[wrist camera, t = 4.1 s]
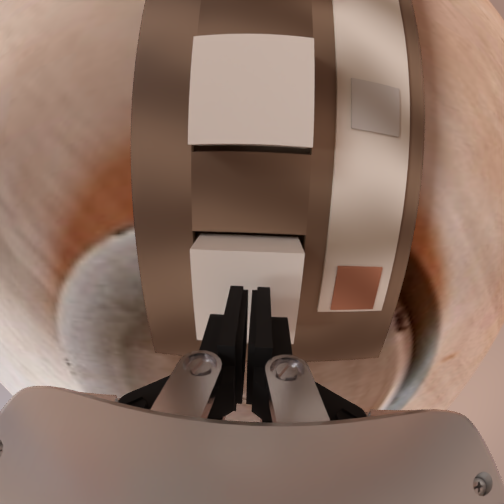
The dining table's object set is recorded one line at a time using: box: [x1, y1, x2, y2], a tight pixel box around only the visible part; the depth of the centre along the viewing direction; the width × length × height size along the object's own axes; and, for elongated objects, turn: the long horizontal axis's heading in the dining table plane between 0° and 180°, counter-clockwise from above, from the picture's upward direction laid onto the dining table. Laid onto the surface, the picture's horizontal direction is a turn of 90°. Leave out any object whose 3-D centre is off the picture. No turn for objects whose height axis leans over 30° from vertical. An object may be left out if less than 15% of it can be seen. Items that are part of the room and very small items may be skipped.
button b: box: [188, 34, 315, 149], centre depth 10 cm, size 5×5×2 cm
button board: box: [131, 0, 425, 362], centre depth 12 cm, size 30×15×3 cm, turn 178°
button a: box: [190, 233, 305, 344], centre depth 14 cm, size 5×5×2 cm
